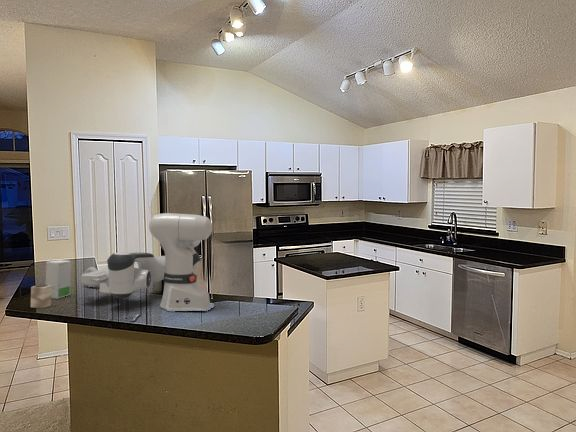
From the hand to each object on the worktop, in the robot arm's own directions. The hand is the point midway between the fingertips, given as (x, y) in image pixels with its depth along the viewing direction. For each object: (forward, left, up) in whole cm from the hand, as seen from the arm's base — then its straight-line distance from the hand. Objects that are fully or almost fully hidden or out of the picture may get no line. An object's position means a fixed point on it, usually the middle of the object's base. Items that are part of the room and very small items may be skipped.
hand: (84, 274), depth 182 cm
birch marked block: (+8, +16, -10) cm, 21 cm away
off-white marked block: (-2, -16, -10) cm, 19 cm away
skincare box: (+12, 0, -11) cm, 16 cm away
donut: (+9, -21, -11) cm, 25 cm away
